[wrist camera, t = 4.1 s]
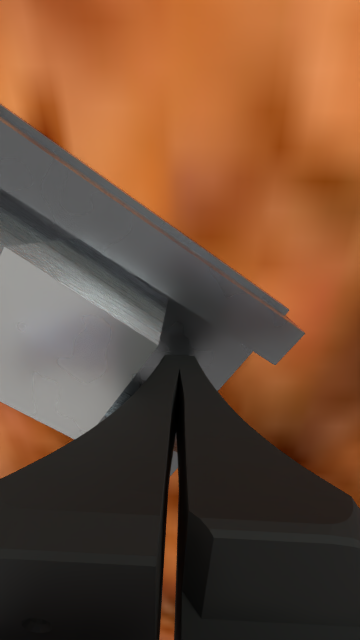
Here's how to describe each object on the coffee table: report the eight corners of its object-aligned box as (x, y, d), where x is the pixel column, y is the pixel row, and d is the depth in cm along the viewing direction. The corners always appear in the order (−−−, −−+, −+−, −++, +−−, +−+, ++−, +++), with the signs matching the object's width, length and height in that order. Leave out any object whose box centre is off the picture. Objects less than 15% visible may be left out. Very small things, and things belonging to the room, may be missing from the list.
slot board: (282, 303, 11) (310, 327, 8) (168, 434, 13) (165, 481, 11) (-13, 94, 8) (-96, 40, 6) (-76, 307, 11) (-149, 330, 9)
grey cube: (167, 300, 10) (158, 345, 6) (117, 369, 11) (82, 443, 7) (78, 238, 9) (4, 246, 5) (33, 320, 10) (-53, 374, 7)
